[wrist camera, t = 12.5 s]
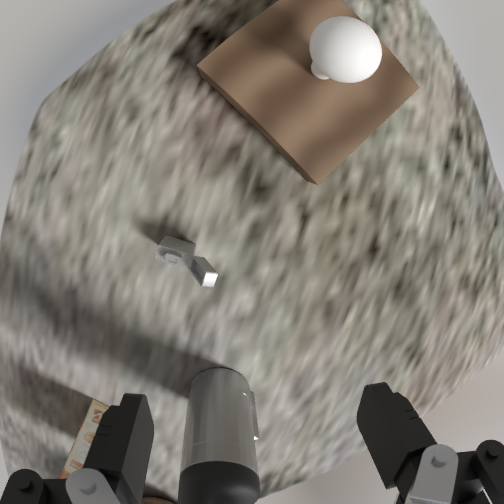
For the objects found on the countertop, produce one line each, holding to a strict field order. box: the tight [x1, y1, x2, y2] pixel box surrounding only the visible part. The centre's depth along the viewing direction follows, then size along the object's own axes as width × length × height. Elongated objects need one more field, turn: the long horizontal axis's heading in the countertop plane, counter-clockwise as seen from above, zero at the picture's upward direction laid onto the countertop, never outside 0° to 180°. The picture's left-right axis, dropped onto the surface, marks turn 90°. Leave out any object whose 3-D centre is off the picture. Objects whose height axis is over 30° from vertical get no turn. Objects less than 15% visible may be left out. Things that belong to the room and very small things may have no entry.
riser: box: [197, 0, 420, 185], centre depth 31 cm, size 18×18×5 cm
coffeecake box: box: [60, 399, 109, 479], centre depth 39 cm, size 15×7×20 cm, turn 148°
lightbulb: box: [309, 16, 382, 83], centre depth 24 cm, size 6×6×11 cm
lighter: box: [155, 235, 217, 287], centre depth 35 cm, size 7×2×8 cm, turn 71°
